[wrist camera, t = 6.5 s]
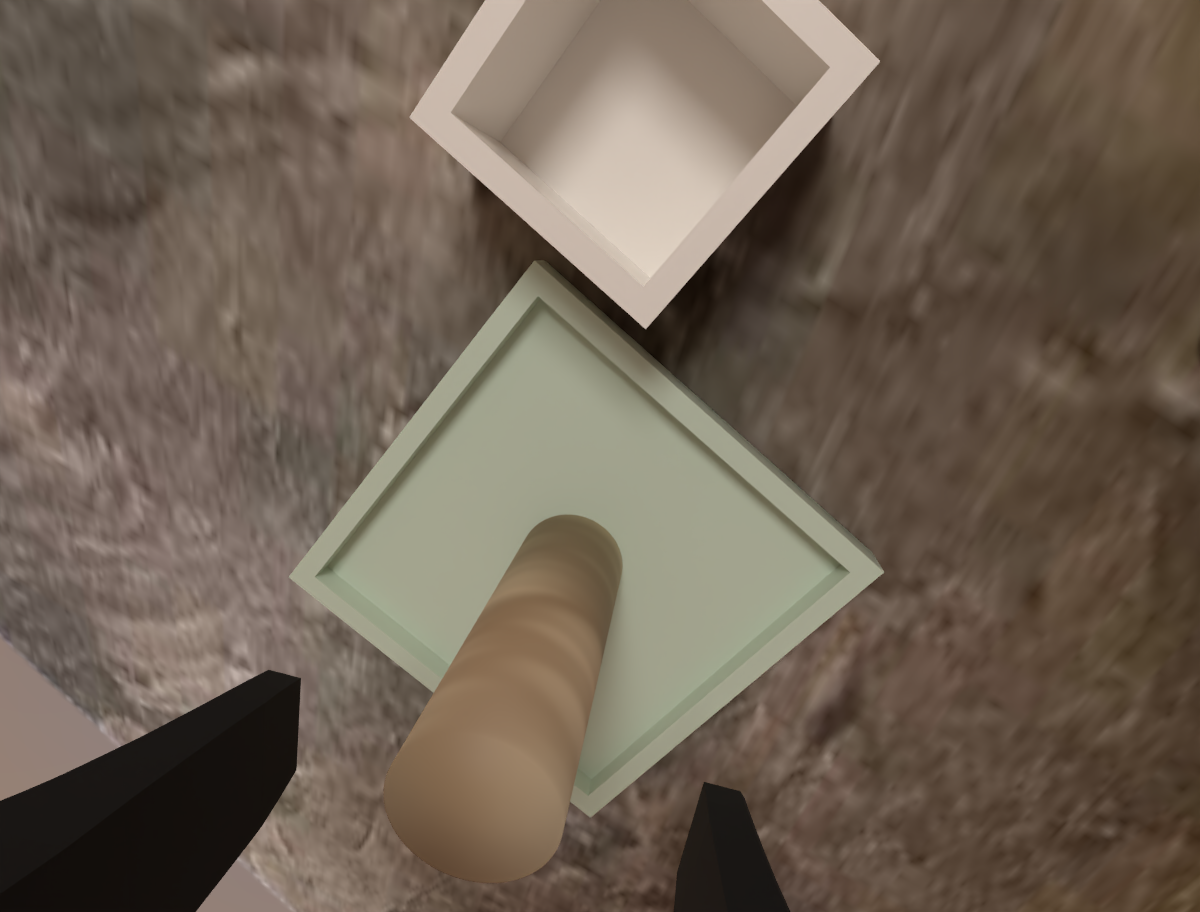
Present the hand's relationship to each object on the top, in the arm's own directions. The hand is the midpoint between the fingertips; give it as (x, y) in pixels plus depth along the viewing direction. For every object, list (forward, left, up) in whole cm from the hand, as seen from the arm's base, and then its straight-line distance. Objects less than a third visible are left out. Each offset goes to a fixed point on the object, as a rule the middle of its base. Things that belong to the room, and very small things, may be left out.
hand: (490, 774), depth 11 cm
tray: (0, 0, -9) cm, 9 cm away
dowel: (0, 0, -8) cm, 8 cm away
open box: (+6, -10, -9) cm, 15 cm away
